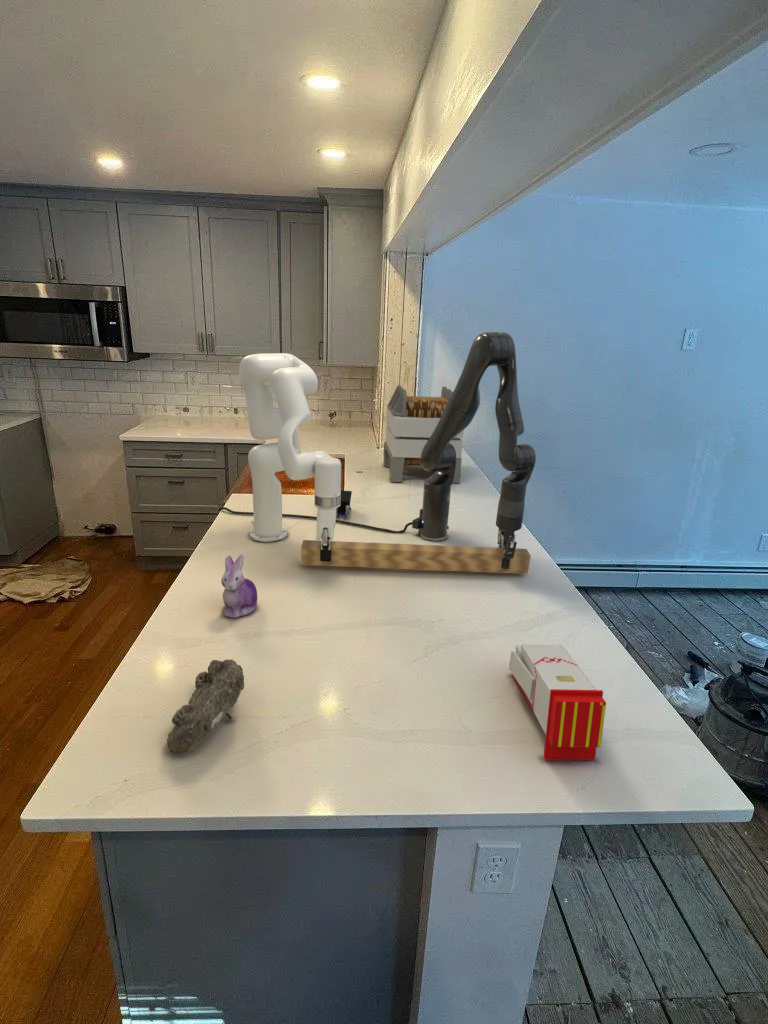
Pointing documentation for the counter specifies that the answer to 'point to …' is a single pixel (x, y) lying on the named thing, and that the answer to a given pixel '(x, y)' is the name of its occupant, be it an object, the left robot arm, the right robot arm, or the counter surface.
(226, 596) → the figurine
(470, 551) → the beam
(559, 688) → the toy
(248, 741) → the counter surface
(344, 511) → the figurine character
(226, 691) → the fossil
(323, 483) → the left robot arm
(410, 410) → the grey box with legs
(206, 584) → the counter surface
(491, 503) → the counter surface
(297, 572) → the counter surface
